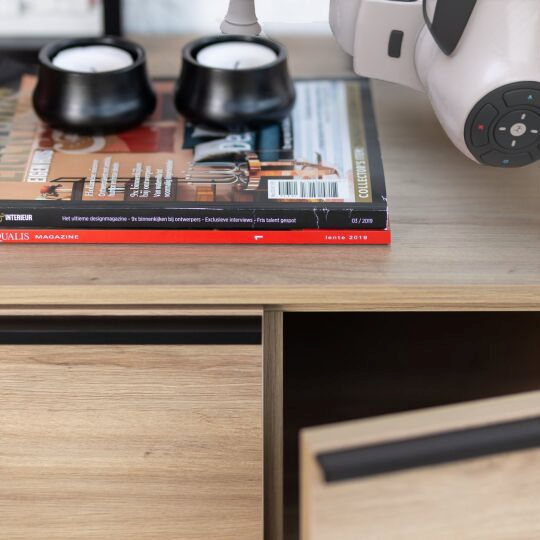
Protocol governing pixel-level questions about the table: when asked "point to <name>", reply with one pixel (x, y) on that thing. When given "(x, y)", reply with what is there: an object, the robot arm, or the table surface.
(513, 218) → the table surface
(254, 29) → the rook chess piece
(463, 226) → the table surface
